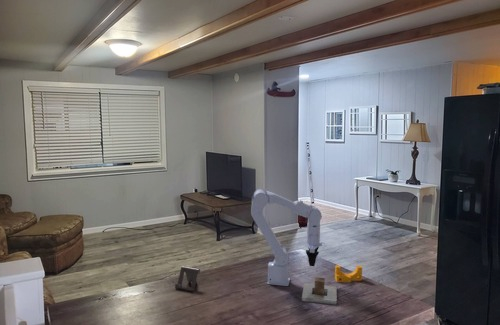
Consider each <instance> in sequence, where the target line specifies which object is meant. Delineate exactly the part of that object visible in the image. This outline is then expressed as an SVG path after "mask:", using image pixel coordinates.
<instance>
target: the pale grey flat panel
mask: <svg viewBox="0 0 500 325" xmlns="http://www.w3.org/2000/svg"><path fill="white" fill-rule="evenodd" d="M314 290H315V283H306V282H305V283H303V289H302V293H301V294H302V295H301V301H302V302H308V303H309V302H310V303H318V304H326V305H334V306H335V305H337V303H338V301H337V294H338V293H337V291H338V290H337V286H335V285H334V286H333V285H326V284H324V293H326V294H327V295H324V296H323V295H314V294H313V292H314Z"/></svg>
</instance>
